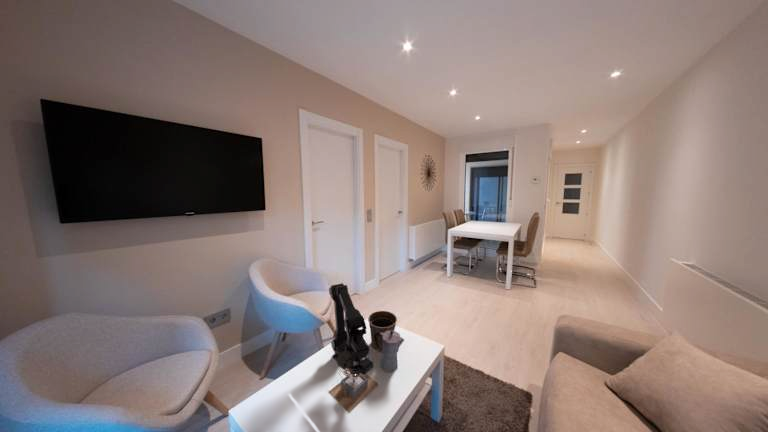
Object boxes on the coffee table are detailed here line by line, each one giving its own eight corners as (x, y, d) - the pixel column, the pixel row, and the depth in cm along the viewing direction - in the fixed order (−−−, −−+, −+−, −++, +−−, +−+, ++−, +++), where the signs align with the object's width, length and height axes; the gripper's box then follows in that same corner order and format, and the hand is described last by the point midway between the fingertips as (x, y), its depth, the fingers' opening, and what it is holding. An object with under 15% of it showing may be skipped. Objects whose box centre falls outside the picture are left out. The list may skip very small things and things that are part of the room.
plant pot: (370, 333, 142) (371, 309, 140) (397, 336, 140) (398, 311, 137) (365, 352, 126) (365, 326, 124) (394, 356, 124) (395, 329, 122)
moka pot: (402, 377, 111) (403, 339, 108) (370, 371, 114) (371, 334, 111) (404, 362, 120) (405, 327, 117) (375, 357, 123) (375, 322, 120)
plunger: (344, 382, 103) (344, 368, 102) (354, 374, 108) (354, 360, 107) (353, 390, 100) (353, 376, 98) (363, 381, 104) (363, 367, 103)
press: (338, 390, 103) (338, 382, 102) (355, 376, 110) (355, 369, 109) (351, 402, 98) (351, 394, 97) (367, 387, 105) (367, 379, 104)
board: (328, 393, 102) (328, 391, 102) (358, 368, 116) (358, 367, 116) (349, 415, 93) (349, 413, 93) (379, 385, 107) (379, 384, 106)
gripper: (325, 341, 101) (326, 373, 103) (354, 364, 88) (354, 399, 91) (345, 329, 109) (346, 358, 111) (374, 349, 97) (374, 381, 99)
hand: (354, 373), depth 103 cm, fingers open, 4 cm apart
